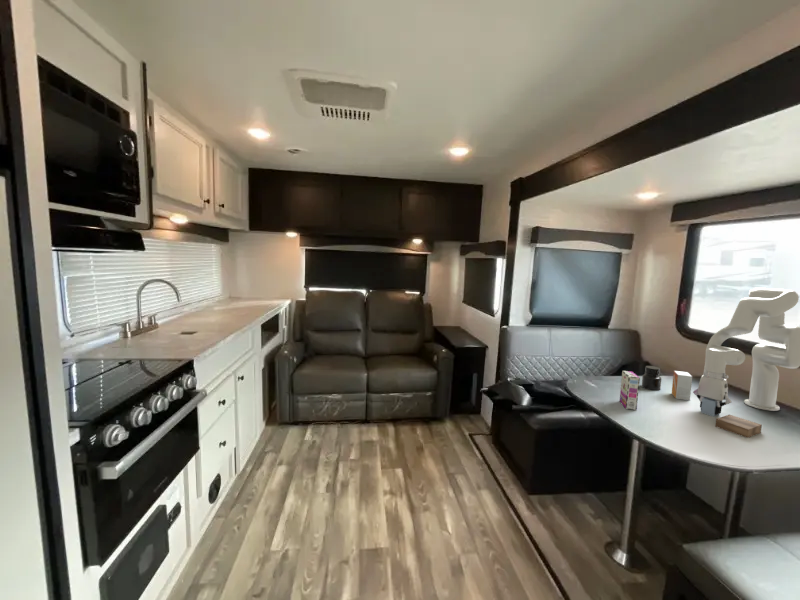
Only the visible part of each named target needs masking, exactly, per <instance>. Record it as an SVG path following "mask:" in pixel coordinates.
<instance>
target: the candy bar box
mask: <svg viewBox="0 0 800 600" xmlns="http://www.w3.org/2000/svg"><path fill="white" fill-rule="evenodd" d="M640 379H641V377H639V376H638V375H637V374H636V372H635V373H634V371H630V370H629V371H628V370H622V372H621V381H620V392H619V402H620V403H622V404H621V405H622V406H623V407H624V409H625V410H631V411H637V410H638V398H639V390H640V389H639V388H640Z"/></svg>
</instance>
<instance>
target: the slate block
mask: <svg viewBox="0 0 800 600" xmlns="http://www.w3.org/2000/svg"><path fill="white" fill-rule="evenodd" d="M716 406H717V403H716V400H714V399H710V398H707V397H705V398H702V406H701V407H700V413H701V414H704V415H707V416H711V417H716V416H719V415H720V414H718V415H715V408H716Z"/></svg>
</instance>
